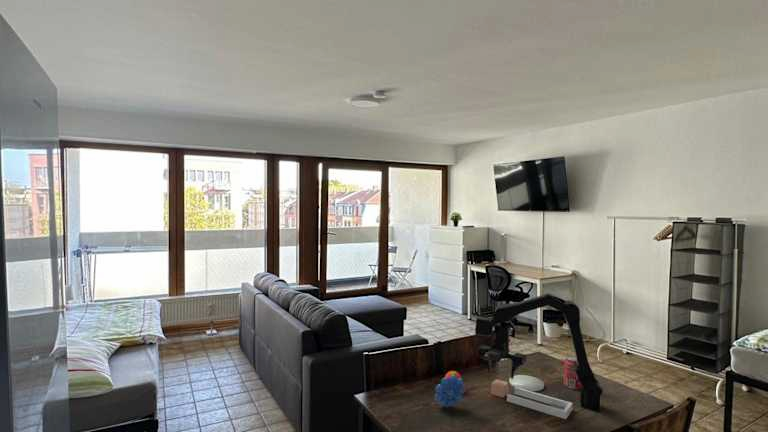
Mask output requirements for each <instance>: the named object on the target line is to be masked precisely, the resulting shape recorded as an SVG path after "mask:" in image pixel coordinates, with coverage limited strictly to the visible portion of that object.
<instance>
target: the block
mask: <svg viewBox="0 0 768 432" xmlns="http://www.w3.org/2000/svg"><path fill="white" fill-rule="evenodd" d="M490 384H491V386H490V387H491V388H490V389H491V390H490V394H491V395H492V396H496V397H499V398H505V397H507V394H509V381H508V382H507V381H503V380H500V379H495V380H493V381H492V382H491V383H490Z"/></svg>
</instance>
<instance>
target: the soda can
mask: <svg viewBox="0 0 768 432" xmlns="http://www.w3.org/2000/svg"><path fill="white" fill-rule="evenodd" d="M573 365H577V359H576V355H575V356H574V355H567V356H566V357H565V359H564V362H563V384H564V386H565V387H567V388H568V389H571V390H578V389H582V388H583V386H581V384H580V382H578V381H577V379H576V376H575V369H574V367H573Z"/></svg>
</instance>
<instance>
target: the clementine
mask: <svg viewBox="0 0 768 432" xmlns="http://www.w3.org/2000/svg"><path fill="white" fill-rule="evenodd" d="M452 375H456V376H457V379H459V378H462V376H461V374H460V373H459V372H457V371H455V370H450V371H448V372H447V373H446V374H445V376H444V377H447V378H448V379H449V378H450V376H452Z"/></svg>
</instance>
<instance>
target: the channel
mask: <svg viewBox="0 0 768 432" xmlns="http://www.w3.org/2000/svg"><path fill="white" fill-rule="evenodd" d="M519 396H520V397H519ZM522 397H524V398H522ZM530 399H531V400H530ZM537 401H538V402H537ZM506 402H508V403H512V404H515V405H518V406H521V407H525V408H528V409H531V410H534V411H537V412H541V413H544V414H547V415H551V416H554V417H558V418H560V419H563V420H567V418H568V417H569V415H570V414H571V412H572V411H573V402H570V401H567V400H563V399H561V398H555V397H552V396H549V395H545V394H542V393H538V392H536V391H528V390H525V389H521V388H517V387H514V395H513V394H510V393H508V394H507V395H506ZM540 402H541V403H540ZM543 403H544V404H543ZM546 404H547V405H546Z"/></svg>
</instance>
